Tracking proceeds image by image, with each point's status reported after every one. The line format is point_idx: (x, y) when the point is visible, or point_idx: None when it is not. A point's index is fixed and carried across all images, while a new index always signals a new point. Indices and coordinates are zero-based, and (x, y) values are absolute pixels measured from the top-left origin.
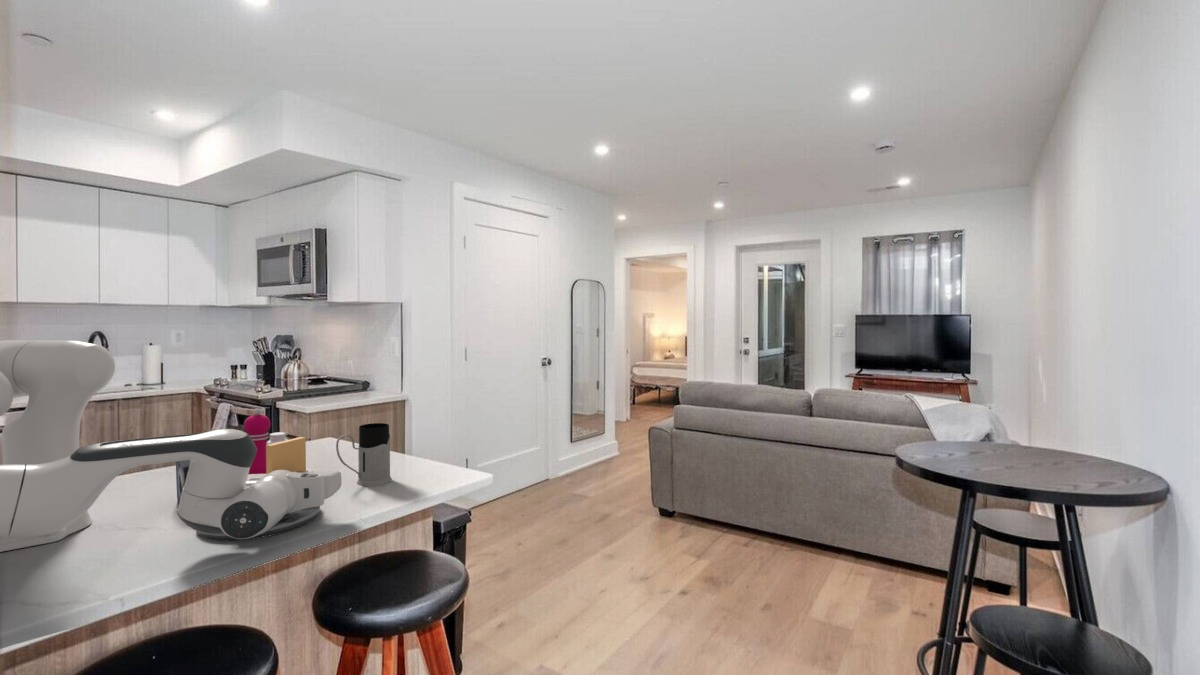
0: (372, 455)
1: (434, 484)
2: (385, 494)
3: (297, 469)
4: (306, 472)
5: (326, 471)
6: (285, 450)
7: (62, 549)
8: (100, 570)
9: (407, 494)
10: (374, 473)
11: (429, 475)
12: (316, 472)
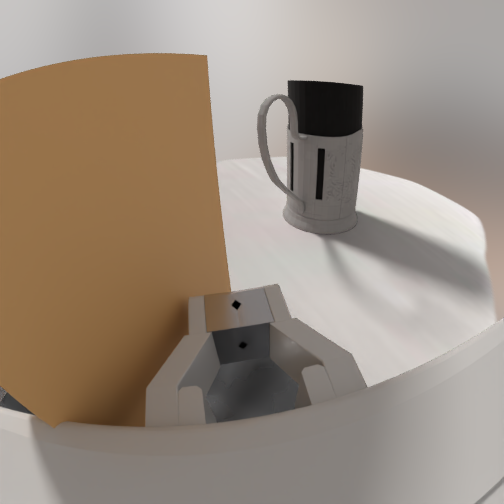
0: (344, 157)
1: (443, 223)
2: (415, 269)
3: (196, 274)
4: (410, 405)
5: (498, 330)
6: (73, 156)
7: None
8: None
9: (454, 265)
10: (344, 203)
11: (395, 195)
12: (479, 376)
